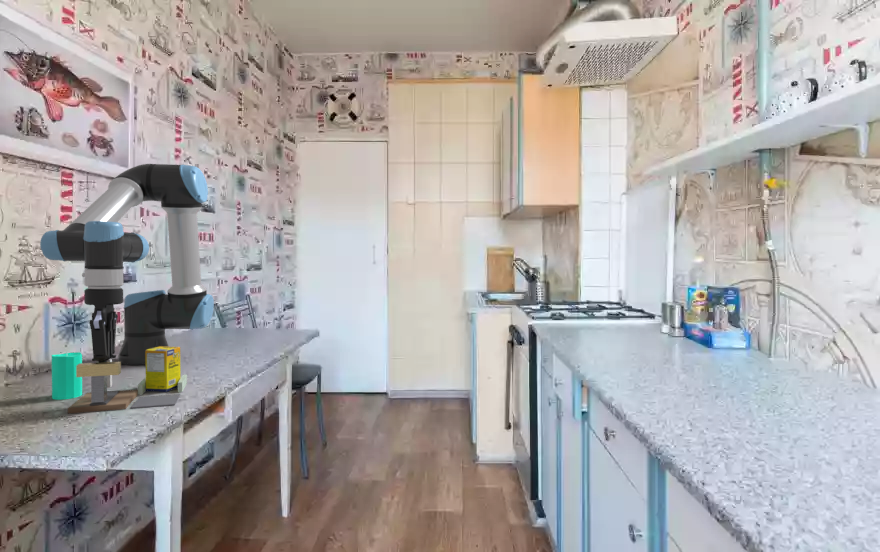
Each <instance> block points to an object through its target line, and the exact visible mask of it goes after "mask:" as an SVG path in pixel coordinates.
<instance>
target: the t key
mask: <svg viewBox="0 0 880 552" xmlns="http://www.w3.org/2000/svg"><path fill="white" fill-rule="evenodd" d="M121 373H122V364H121V362H118V361H112V362H102V363H97V362H87V363H86V362H85V363H83V362H82V363H81V364H78V365H77V366H76V377H82V378H83V377H84V378H86V377H87V378H88V377H90V381H91V382H90V383H91V384H90V385H91V388H90V389H91V403H97V402H105V401H106V400H107V391H108V388H107V375H112V376H119V375H120V374H121Z"/></svg>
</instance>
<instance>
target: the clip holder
mask: <svg viewBox="0 0 880 552" xmlns="http://www.w3.org/2000/svg"><path fill="white" fill-rule="evenodd" d="M187 385H188V374H182V375H181V379H180V380H179V382H178V388H177V392H178V393H183V391H184V390H185V388H186V386H187ZM137 389H138V395H137V396H142V395H143V394H144V393H145V392H147V391H146V376H145V377H144V378H143V379H141V381H140V382H139V383H138V385H137ZM143 396H144V395H143Z"/></svg>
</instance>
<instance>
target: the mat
mask: <svg viewBox="0 0 880 552" xmlns="http://www.w3.org/2000/svg"><path fill="white" fill-rule="evenodd" d="M180 396H181V393H174V394H172V393H171V394H161V395H160V394H159V395H146V396H144V395H143V396H138V398H137V399H136V401H135V402H134V403H133V404H132V405H131V406H130V409H132V410H133V409H143V408H157V407H158V408H159V407H169V406H170V407H171V406H175V405H176V404H177V402H178V400H179V398H180Z"/></svg>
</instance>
